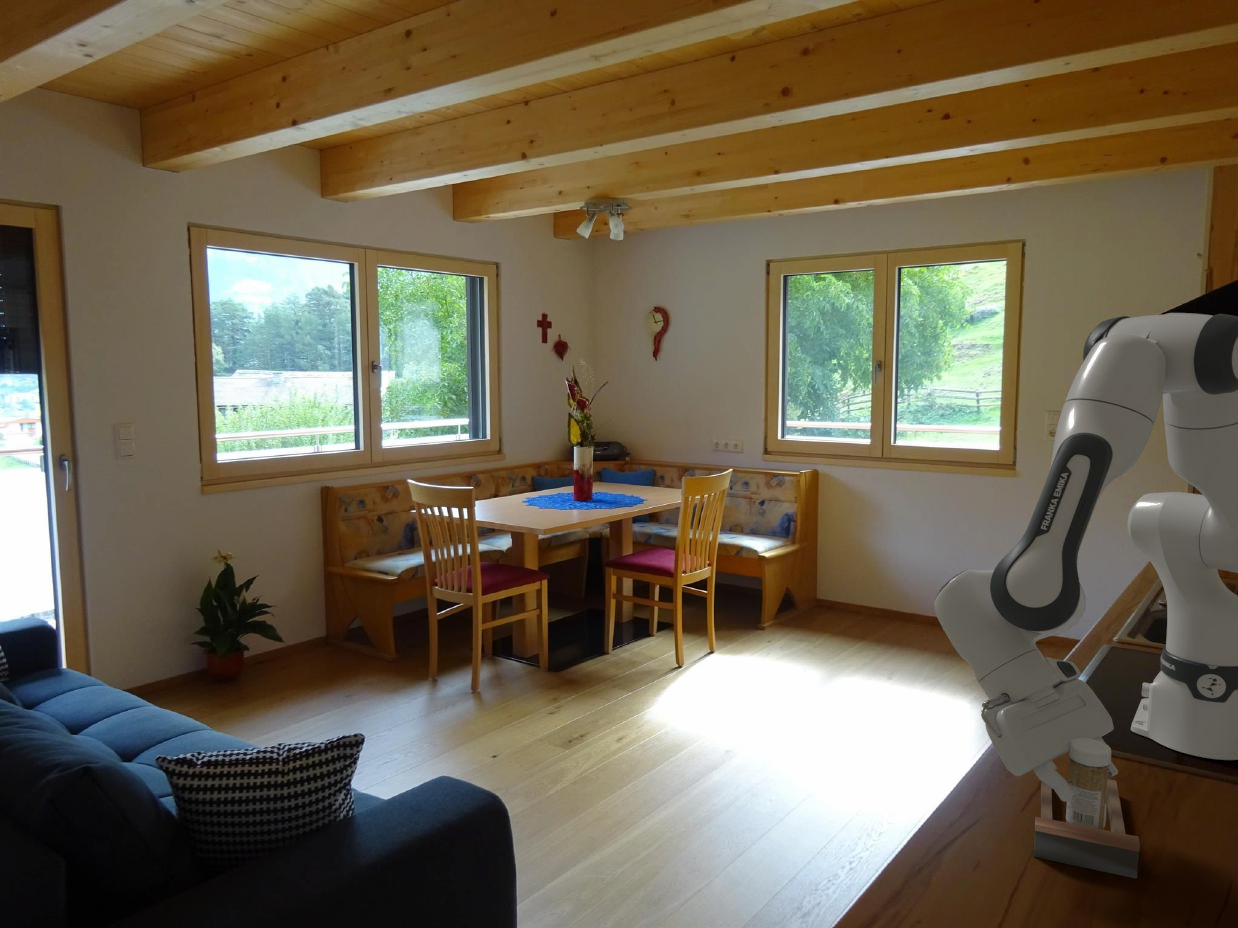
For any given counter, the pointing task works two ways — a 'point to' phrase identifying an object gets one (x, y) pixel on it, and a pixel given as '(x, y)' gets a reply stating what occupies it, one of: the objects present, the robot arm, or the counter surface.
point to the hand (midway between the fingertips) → (1092, 787)
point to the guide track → (1087, 839)
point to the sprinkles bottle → (1088, 782)
